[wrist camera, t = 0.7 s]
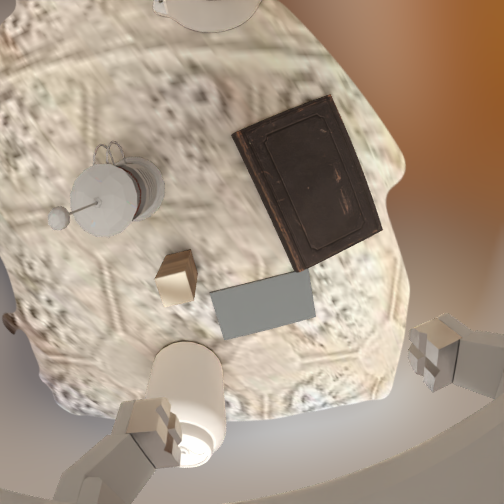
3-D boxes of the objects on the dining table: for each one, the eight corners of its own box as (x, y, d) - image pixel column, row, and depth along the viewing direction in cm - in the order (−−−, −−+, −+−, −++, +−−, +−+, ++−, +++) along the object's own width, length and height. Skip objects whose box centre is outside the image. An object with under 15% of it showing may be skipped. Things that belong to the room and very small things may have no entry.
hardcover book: (325, 96, 44) (330, 94, 41) (376, 227, 51) (383, 230, 48) (230, 135, 44) (231, 134, 42) (292, 269, 51) (296, 274, 49)
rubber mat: (209, 292, 50) (209, 293, 49) (307, 267, 50) (308, 268, 50) (224, 338, 52) (224, 340, 52) (315, 315, 53) (315, 316, 53)
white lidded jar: (174, 400, 55) (165, 482, 36) (141, 352, 52) (115, 434, 32) (233, 381, 55) (243, 466, 36) (204, 329, 52) (201, 414, 32)
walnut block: (165, 255, 47) (154, 279, 38) (190, 249, 48) (184, 271, 38) (173, 279, 49) (164, 307, 39) (197, 273, 49) (194, 300, 39)
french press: (109, 226, 45) (24, 288, 21) (97, 152, 42) (-4, 152, 18) (169, 215, 46) (124, 274, 22) (158, 138, 42) (97, 116, 19)
